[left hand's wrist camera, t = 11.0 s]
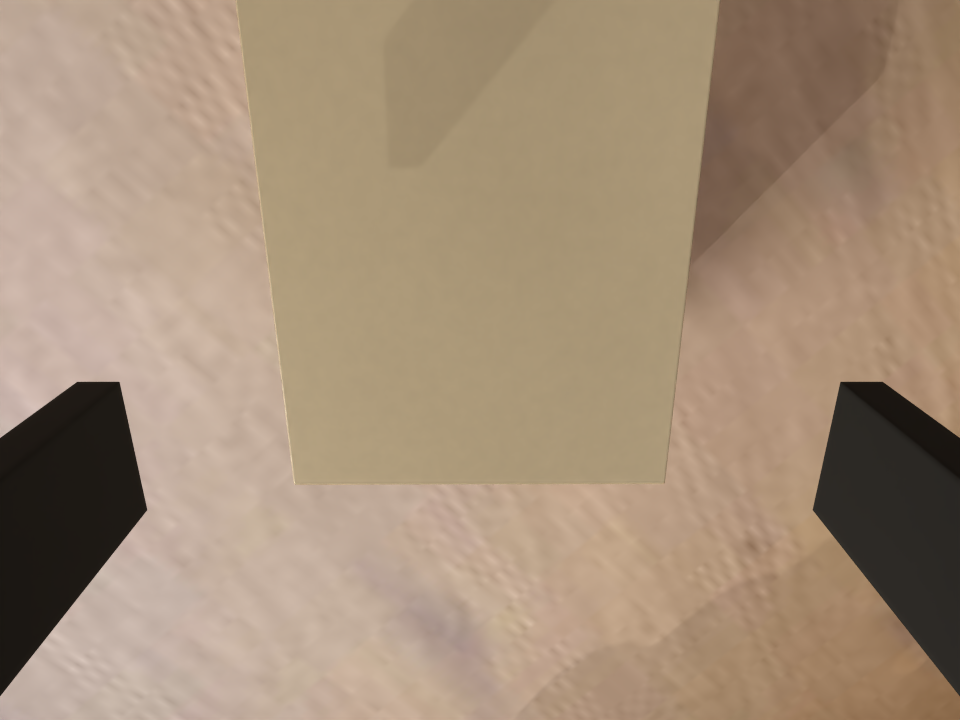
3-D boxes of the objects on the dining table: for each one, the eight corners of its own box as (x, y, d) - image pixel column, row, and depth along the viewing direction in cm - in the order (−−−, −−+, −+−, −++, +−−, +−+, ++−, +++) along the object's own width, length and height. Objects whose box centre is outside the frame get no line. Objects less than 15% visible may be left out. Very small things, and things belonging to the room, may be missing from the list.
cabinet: (308, -255, 21) (169, -533, 12) (647, -255, 21) (783, -535, 12) (354, 355, 29) (293, 485, 19) (604, 354, 29) (665, 484, 19)
